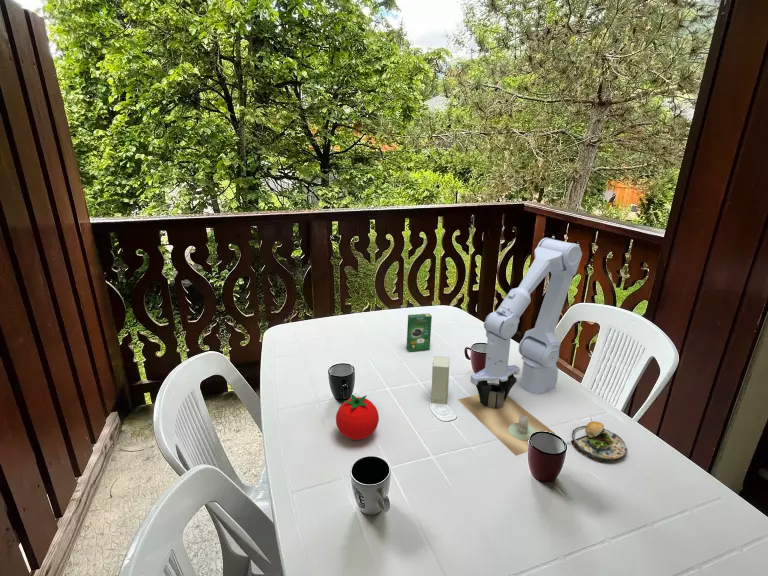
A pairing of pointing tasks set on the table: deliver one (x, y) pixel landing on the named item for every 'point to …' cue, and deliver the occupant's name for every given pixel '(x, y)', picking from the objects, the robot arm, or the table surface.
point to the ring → (496, 396)
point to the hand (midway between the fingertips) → (492, 401)
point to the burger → (598, 443)
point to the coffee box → (418, 332)
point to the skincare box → (440, 380)
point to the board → (506, 422)
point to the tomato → (357, 418)
